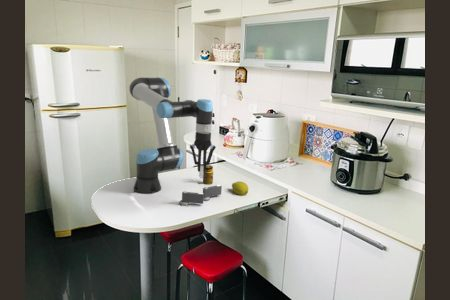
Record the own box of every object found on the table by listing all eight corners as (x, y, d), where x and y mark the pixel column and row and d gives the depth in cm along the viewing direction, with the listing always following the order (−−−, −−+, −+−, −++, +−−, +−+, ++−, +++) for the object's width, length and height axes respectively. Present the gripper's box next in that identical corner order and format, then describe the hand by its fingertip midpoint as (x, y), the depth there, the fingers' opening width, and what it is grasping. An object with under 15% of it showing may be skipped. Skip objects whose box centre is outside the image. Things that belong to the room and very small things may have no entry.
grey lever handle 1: (178, 205, 164) (179, 193, 162) (180, 201, 169) (181, 189, 167) (202, 207, 164) (202, 195, 162) (203, 203, 168) (204, 191, 167)
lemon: (251, 196, 184) (252, 183, 181) (240, 199, 179) (242, 186, 177) (238, 190, 192) (239, 177, 189) (228, 193, 187) (229, 180, 185)
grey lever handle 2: (203, 201, 170) (204, 190, 168) (199, 198, 174) (199, 187, 172) (222, 197, 177) (223, 186, 175) (217, 194, 181) (218, 183, 179)
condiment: (215, 186, 196) (216, 167, 193) (203, 188, 191) (204, 169, 188) (209, 182, 202) (210, 163, 198) (197, 184, 197) (198, 165, 194)
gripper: (190, 133, 152) (188, 180, 158) (217, 133, 154) (214, 180, 161) (189, 129, 159) (187, 174, 165) (215, 130, 161) (212, 174, 168)
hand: (201, 177), depth 163 cm, fingers closed
